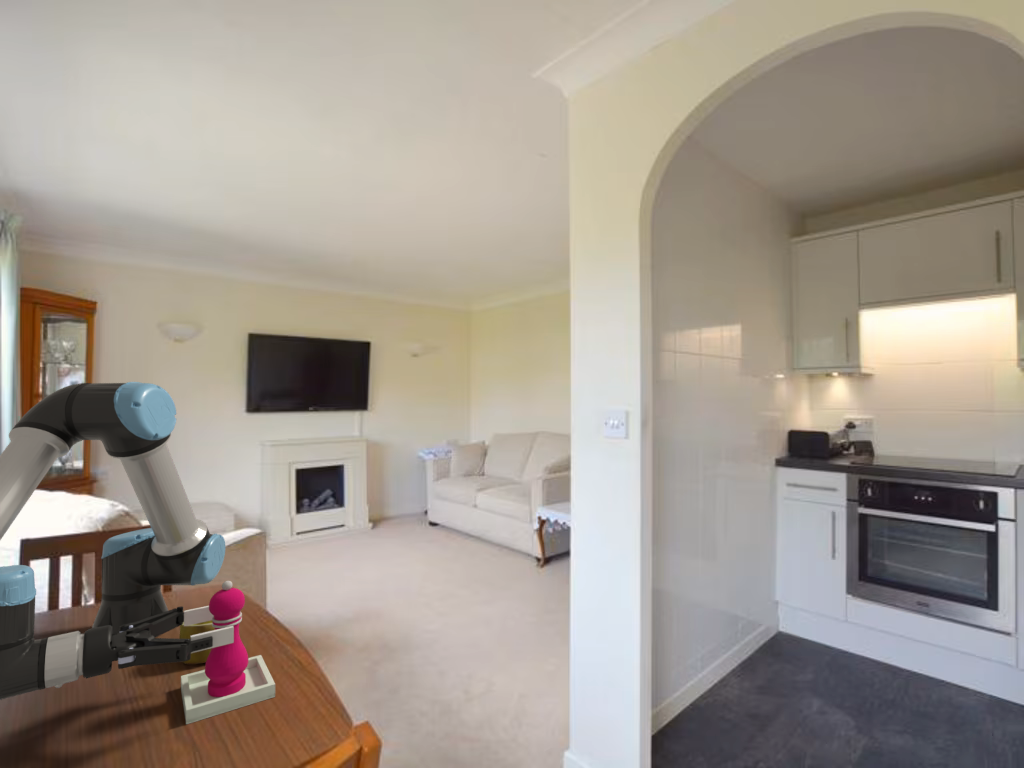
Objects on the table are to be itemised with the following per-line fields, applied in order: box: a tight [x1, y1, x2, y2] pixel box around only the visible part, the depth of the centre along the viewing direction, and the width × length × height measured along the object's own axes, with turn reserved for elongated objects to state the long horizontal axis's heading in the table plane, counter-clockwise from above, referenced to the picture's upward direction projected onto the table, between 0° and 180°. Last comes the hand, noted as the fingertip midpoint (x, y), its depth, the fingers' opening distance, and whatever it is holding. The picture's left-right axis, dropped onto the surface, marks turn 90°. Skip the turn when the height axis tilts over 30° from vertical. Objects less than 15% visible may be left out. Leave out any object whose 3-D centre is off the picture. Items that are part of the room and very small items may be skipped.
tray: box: [180, 654, 276, 725], centre depth 99 cm, size 14×14×2 cm
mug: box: [178, 620, 215, 665], centre depth 114 cm, size 12×10×10 cm
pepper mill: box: [204, 580, 249, 697], centre depth 99 cm, size 7×7×20 cm
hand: (227, 621), depth 99 cm, fingers open, 13 cm apart
